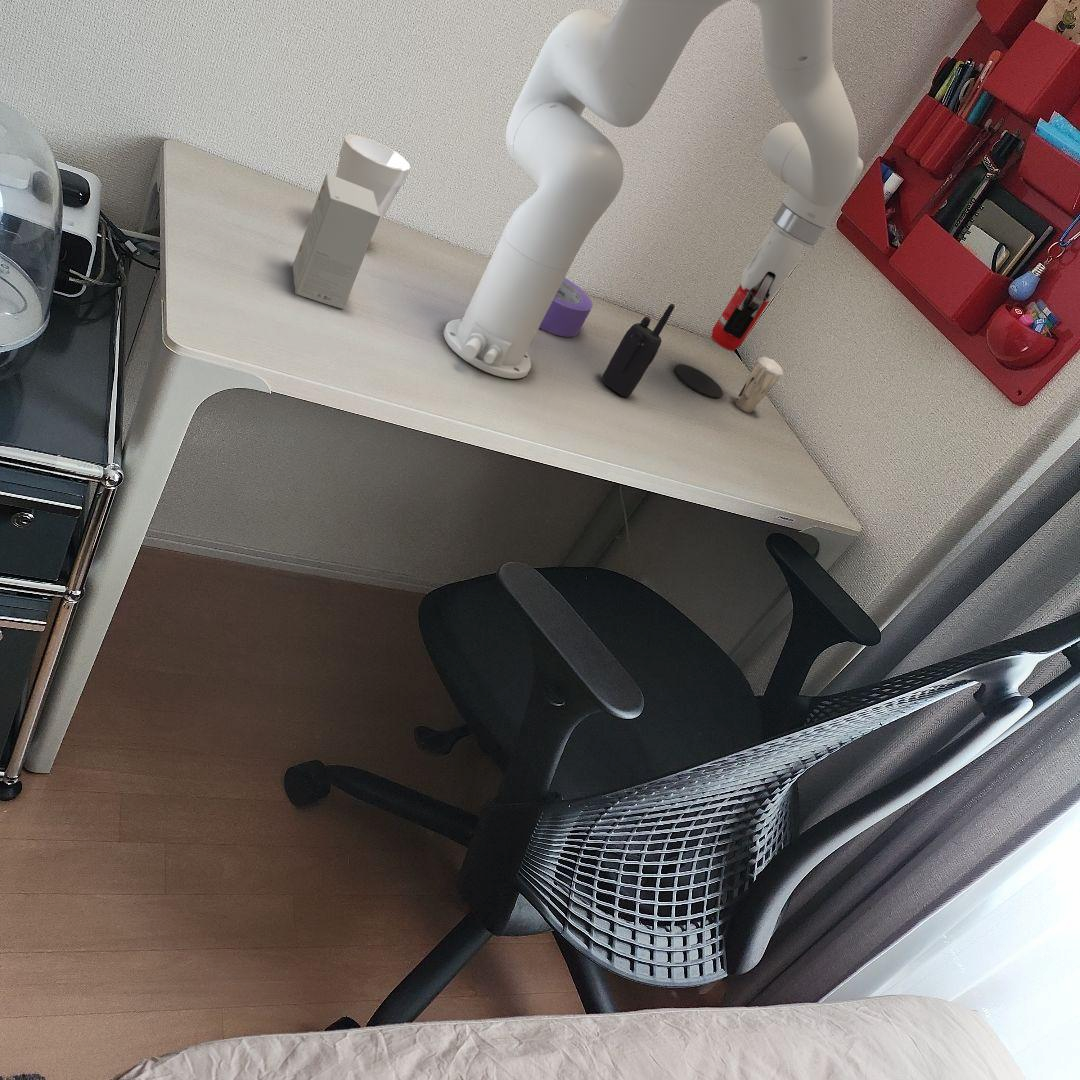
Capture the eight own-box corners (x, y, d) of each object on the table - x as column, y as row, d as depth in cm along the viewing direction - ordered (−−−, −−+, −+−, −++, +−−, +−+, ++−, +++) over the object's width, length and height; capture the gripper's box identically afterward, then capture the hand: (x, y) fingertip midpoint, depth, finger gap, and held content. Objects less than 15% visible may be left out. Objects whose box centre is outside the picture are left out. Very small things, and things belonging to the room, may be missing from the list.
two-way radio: (634, 398, 147) (686, 310, 139) (618, 401, 144) (672, 311, 136) (606, 376, 149) (657, 288, 141) (591, 378, 145) (642, 289, 138)
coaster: (720, 405, 162) (721, 403, 161) (671, 378, 161) (673, 376, 161) (722, 385, 169) (723, 384, 169) (676, 359, 169) (677, 357, 168)
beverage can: (705, 330, 162) (746, 264, 156) (732, 341, 164) (773, 277, 158) (713, 344, 158) (755, 278, 152) (740, 356, 160) (782, 291, 154)
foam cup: (388, 252, 147) (422, 170, 140) (350, 257, 139) (384, 170, 132) (340, 218, 149) (371, 135, 142) (300, 221, 141) (331, 133, 134)
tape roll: (567, 345, 151) (583, 316, 149) (501, 305, 151) (515, 276, 149) (585, 325, 161) (600, 298, 159) (523, 288, 161) (536, 260, 159)
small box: (343, 310, 125) (381, 216, 119) (294, 294, 123) (329, 197, 116) (339, 281, 131) (374, 190, 125) (291, 265, 129) (325, 171, 122)
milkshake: (759, 421, 164) (794, 371, 159) (731, 406, 164) (765, 355, 158) (758, 410, 168) (792, 361, 163) (730, 395, 167) (764, 345, 162)
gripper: (774, 202, 158) (713, 302, 167) (776, 225, 143) (709, 333, 152) (815, 226, 158) (752, 324, 167) (821, 251, 143) (751, 357, 153)
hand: (732, 327), depth 160 cm, fingers closed on beverage can, 5 cm apart
